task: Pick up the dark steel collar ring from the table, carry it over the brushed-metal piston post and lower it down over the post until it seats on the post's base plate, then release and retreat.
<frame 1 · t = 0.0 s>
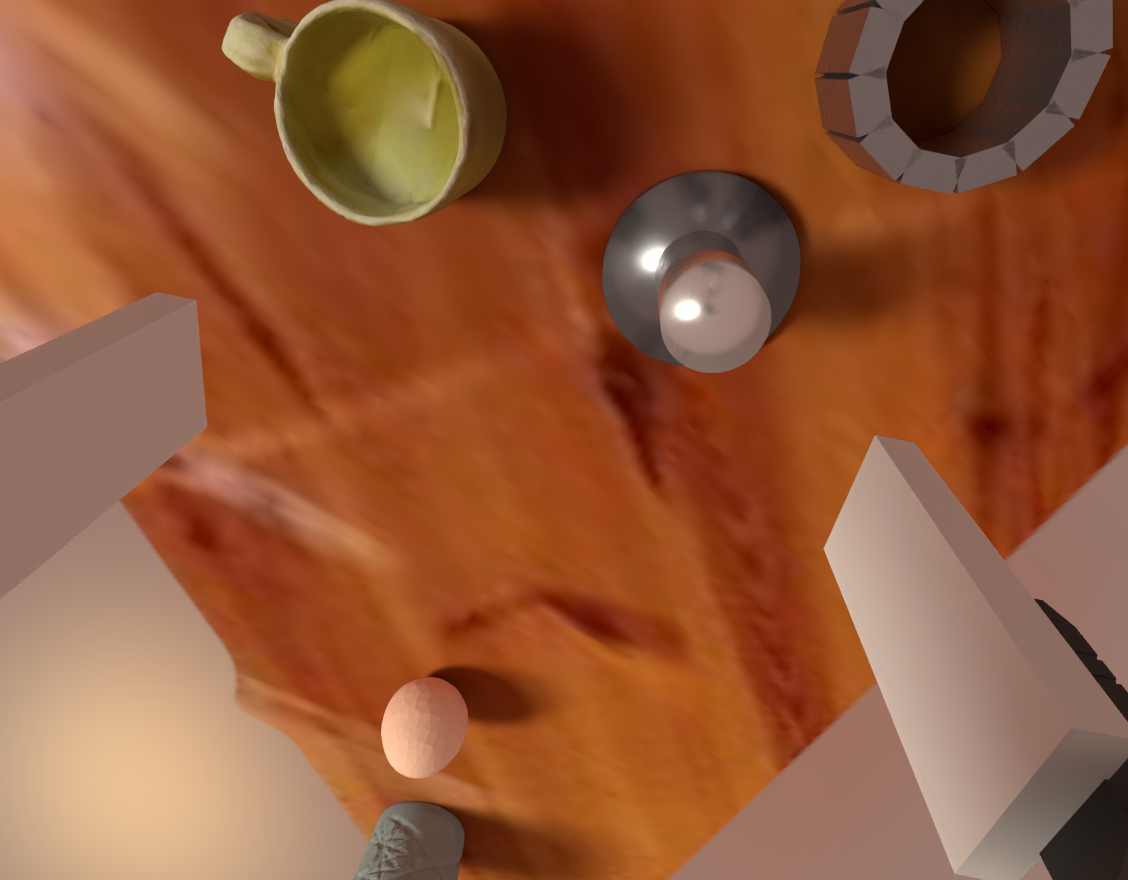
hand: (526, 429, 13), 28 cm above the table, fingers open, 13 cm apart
ring: (923, 65, 34), on the table
grey cup: (420, 825, 67), on the table
piston post: (698, 272, 39), on the table
mug: (398, 95, 37), on the table
egg: (437, 685, 58), on the table
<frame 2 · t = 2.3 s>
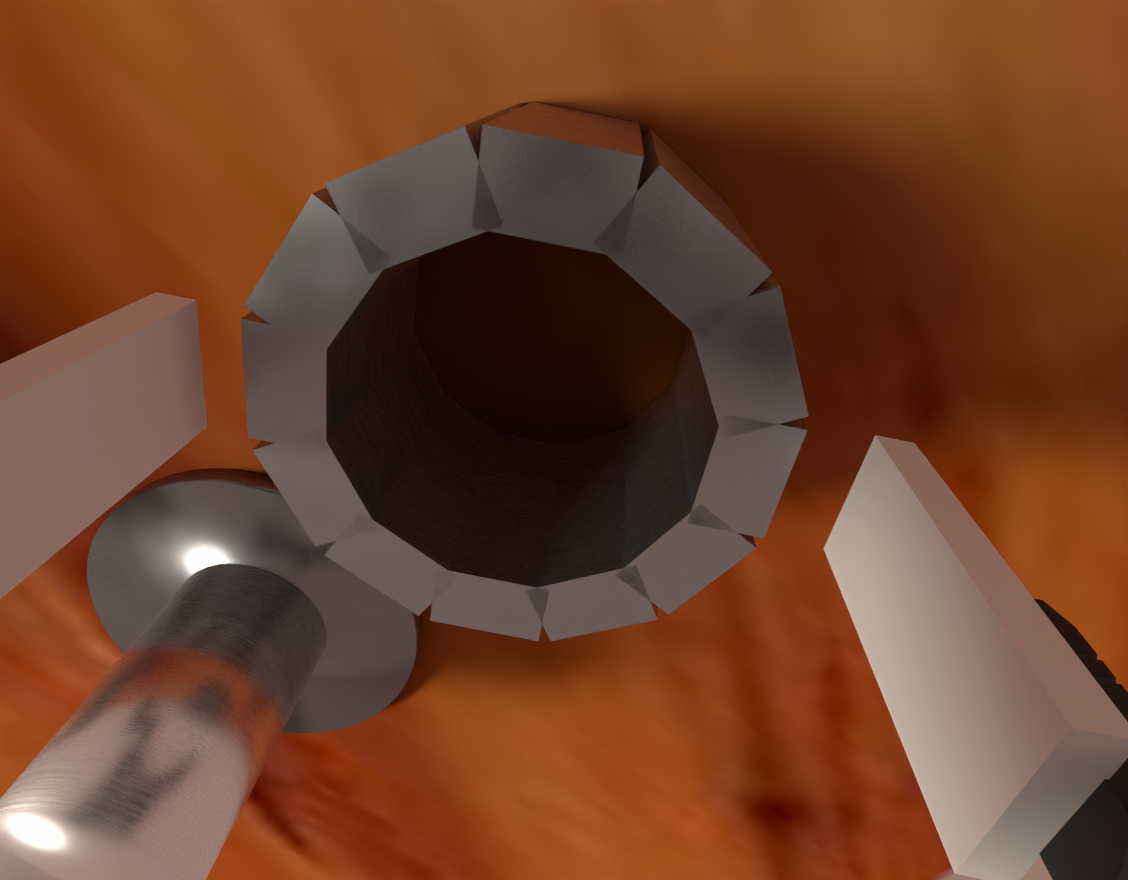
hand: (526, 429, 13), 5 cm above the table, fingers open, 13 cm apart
ring: (549, 323, 18), on the table
piston post: (263, 605, 24), on the table
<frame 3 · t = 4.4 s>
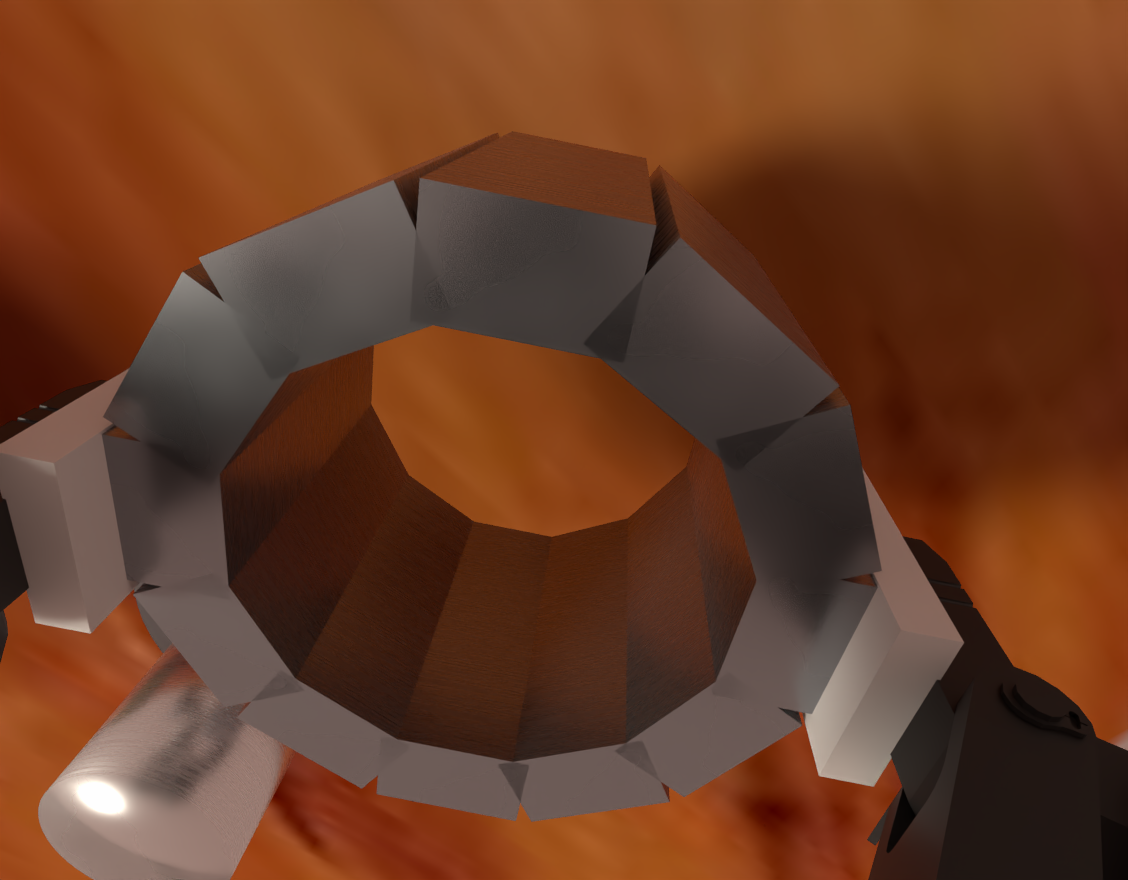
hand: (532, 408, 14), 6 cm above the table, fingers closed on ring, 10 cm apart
ring: (535, 397, 14), point 6 cm above the table, touching gripper
piston post: (294, 606, 25), on the table
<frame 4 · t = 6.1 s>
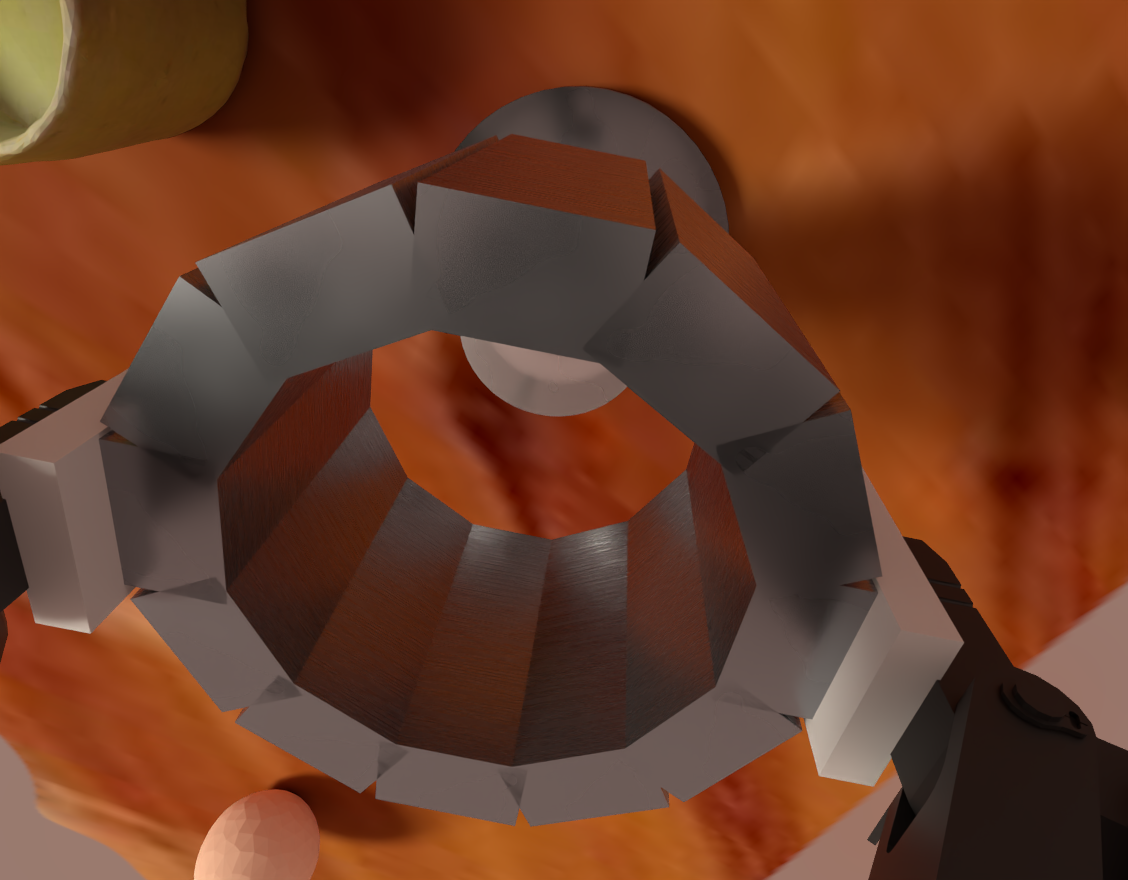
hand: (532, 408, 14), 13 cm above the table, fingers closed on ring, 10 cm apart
ring: (535, 399, 14), point 13 cm above the table, touching gripper
piston post: (577, 250, 26), on the table
egg: (288, 795, 44), on the table
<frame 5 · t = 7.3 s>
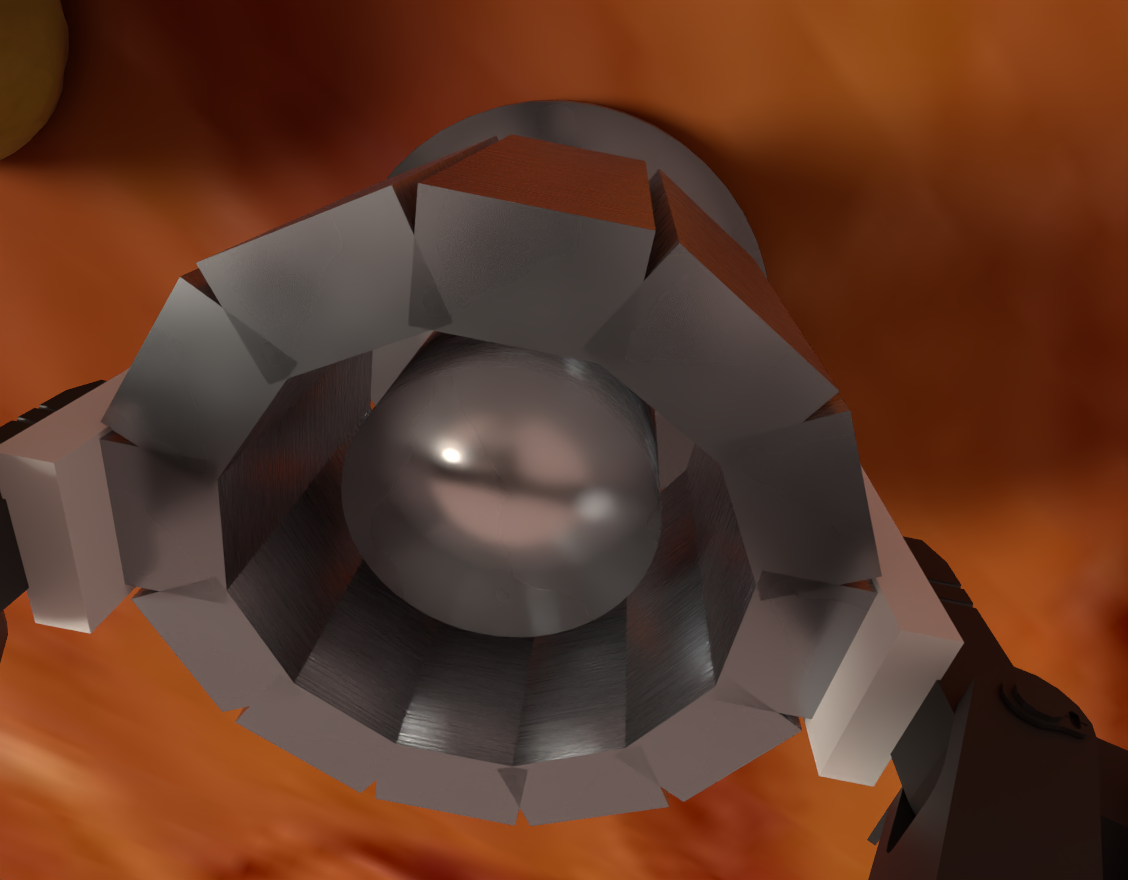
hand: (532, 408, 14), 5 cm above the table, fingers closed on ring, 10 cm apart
ring: (535, 400, 14), point 5 cm above the table, touching gripper
piston post: (555, 326, 19), on the table
when the fingers open (3 cm above the table, at t = 8.2 s): ring drops 2 cm, resting on piston post.
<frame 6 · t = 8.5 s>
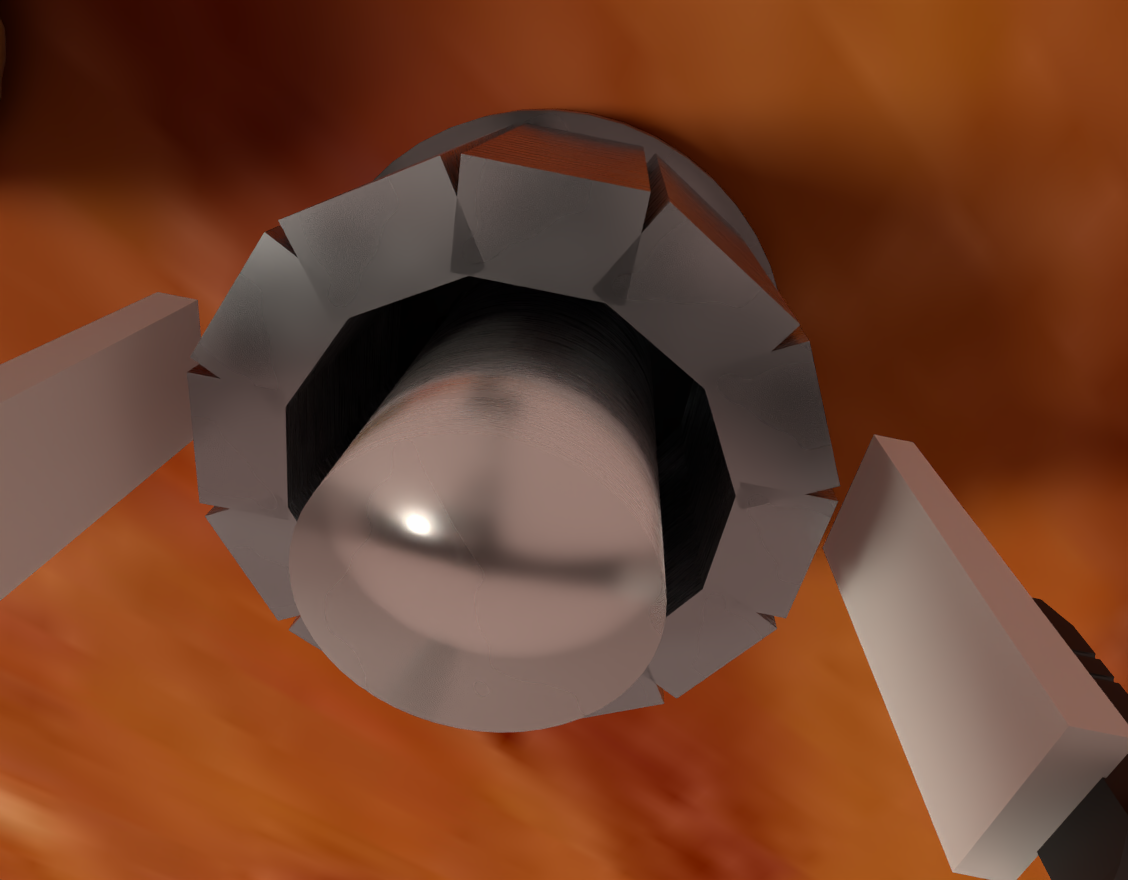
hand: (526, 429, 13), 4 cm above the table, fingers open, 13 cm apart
ring: (545, 362, 16), point 1 cm above the table, touching piston post
piston post: (548, 355, 17), on the table
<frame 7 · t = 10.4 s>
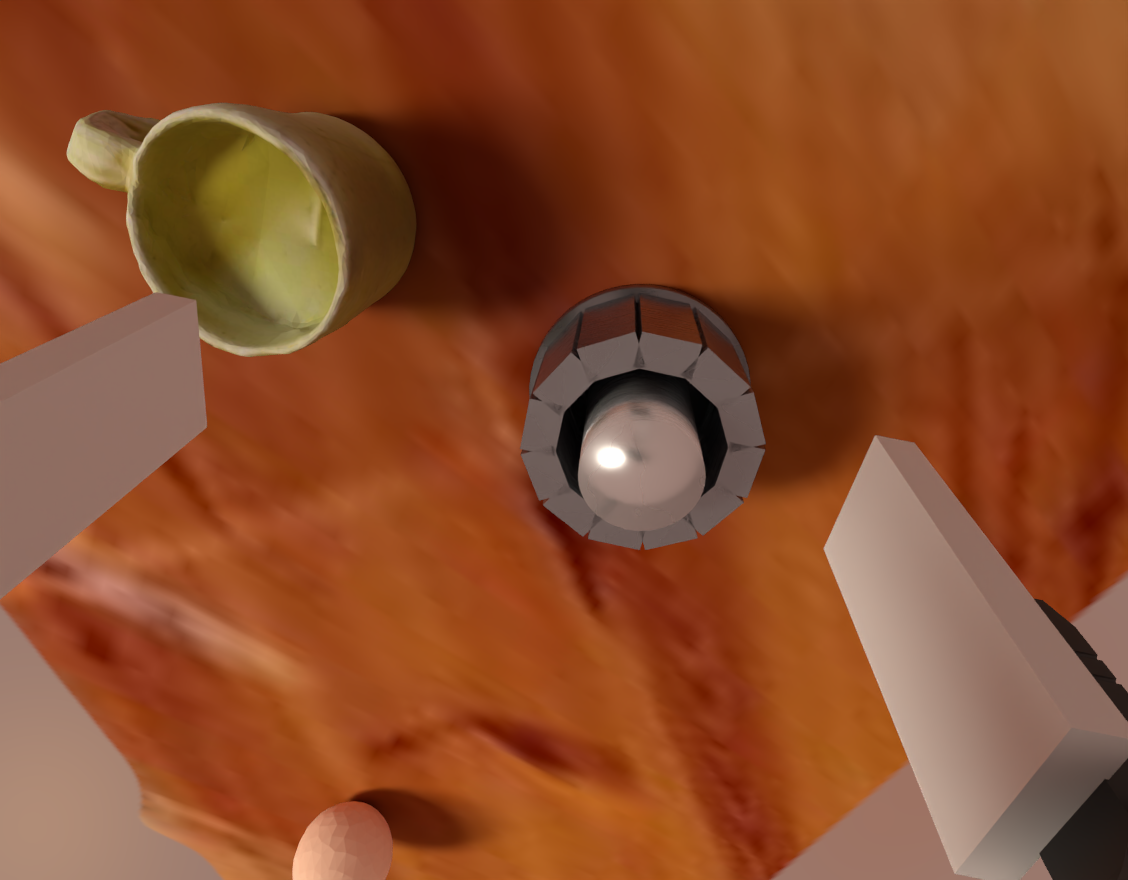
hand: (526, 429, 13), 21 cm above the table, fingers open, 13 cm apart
ring: (638, 394, 34), point 1 cm above the table, touching piston post
piston post: (638, 391, 35), on the table
mug: (296, 193, 32), on the table
egg: (363, 806, 52), on the table
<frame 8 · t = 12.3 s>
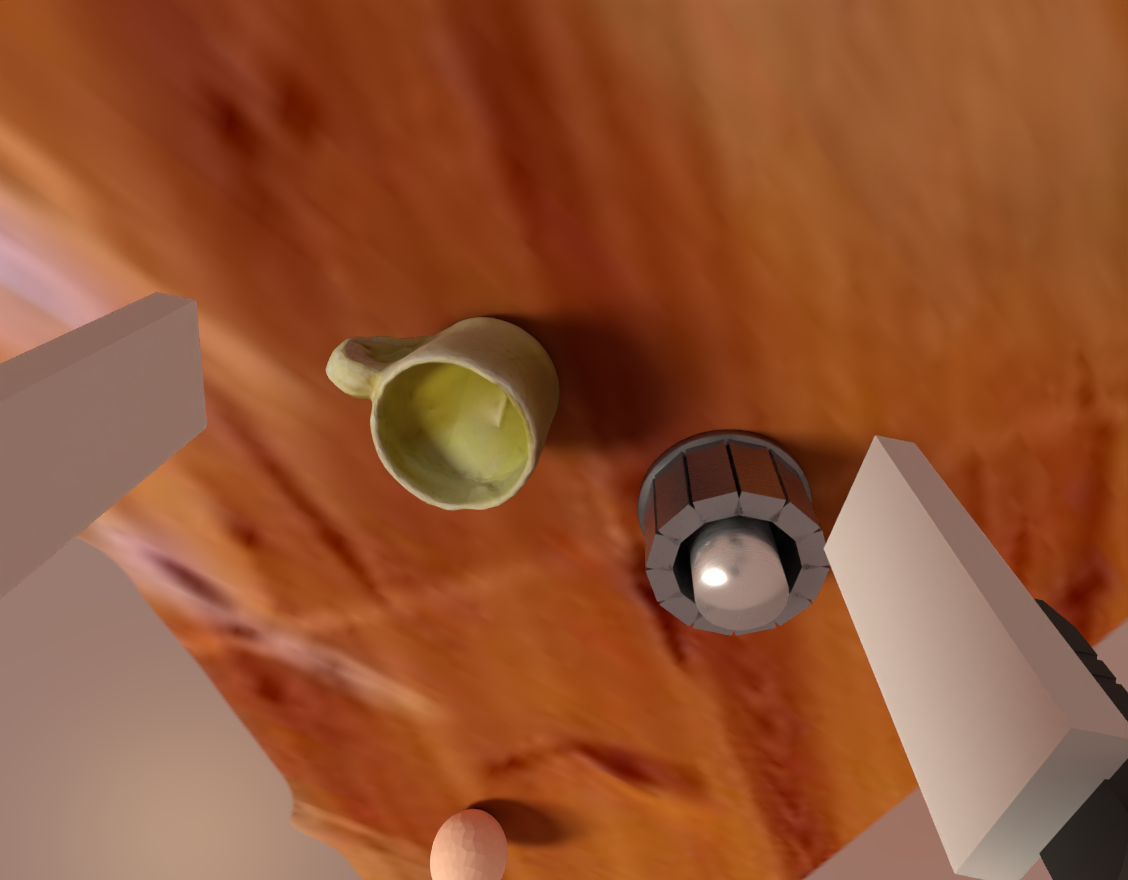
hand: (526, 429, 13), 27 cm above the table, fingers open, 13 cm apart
ring: (724, 509, 44), point 1 cm above the table, touching piston post
piston post: (722, 503, 45), on the table
mug: (463, 365, 42), on the table
egg: (477, 812, 63), on the table
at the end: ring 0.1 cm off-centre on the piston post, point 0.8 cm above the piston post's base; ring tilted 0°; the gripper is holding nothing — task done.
